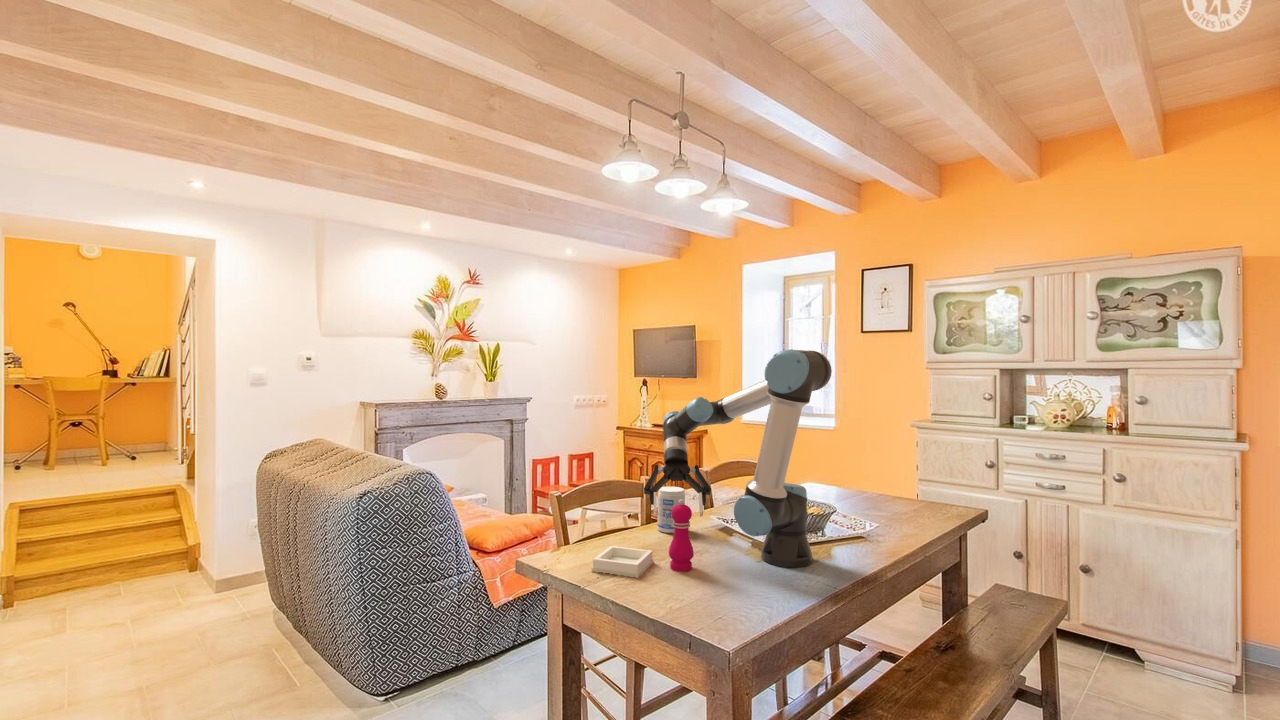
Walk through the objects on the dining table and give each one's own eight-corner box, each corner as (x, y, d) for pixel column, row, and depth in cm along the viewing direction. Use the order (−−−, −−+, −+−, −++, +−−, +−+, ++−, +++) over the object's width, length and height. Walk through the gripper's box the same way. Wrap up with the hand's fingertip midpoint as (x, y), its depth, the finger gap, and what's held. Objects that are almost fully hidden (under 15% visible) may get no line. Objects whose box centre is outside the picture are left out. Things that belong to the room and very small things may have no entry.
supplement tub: (662, 534, 209) (662, 492, 209) (653, 527, 218) (654, 486, 218) (688, 532, 211) (688, 490, 212) (678, 525, 221) (679, 485, 221)
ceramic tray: (653, 562, 180) (653, 550, 180) (637, 577, 167) (638, 565, 167) (610, 556, 185) (610, 545, 185) (591, 571, 171) (591, 559, 171)
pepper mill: (679, 574, 170) (680, 503, 170) (663, 567, 176) (664, 498, 176) (698, 569, 174) (699, 500, 174) (682, 562, 180) (683, 495, 180)
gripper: (713, 461, 194) (719, 520, 179) (636, 461, 194) (635, 520, 179) (716, 447, 189) (722, 507, 174) (636, 447, 189) (635, 506, 174)
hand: (678, 514), depth 177 cm, fingers open, 13 cm apart
